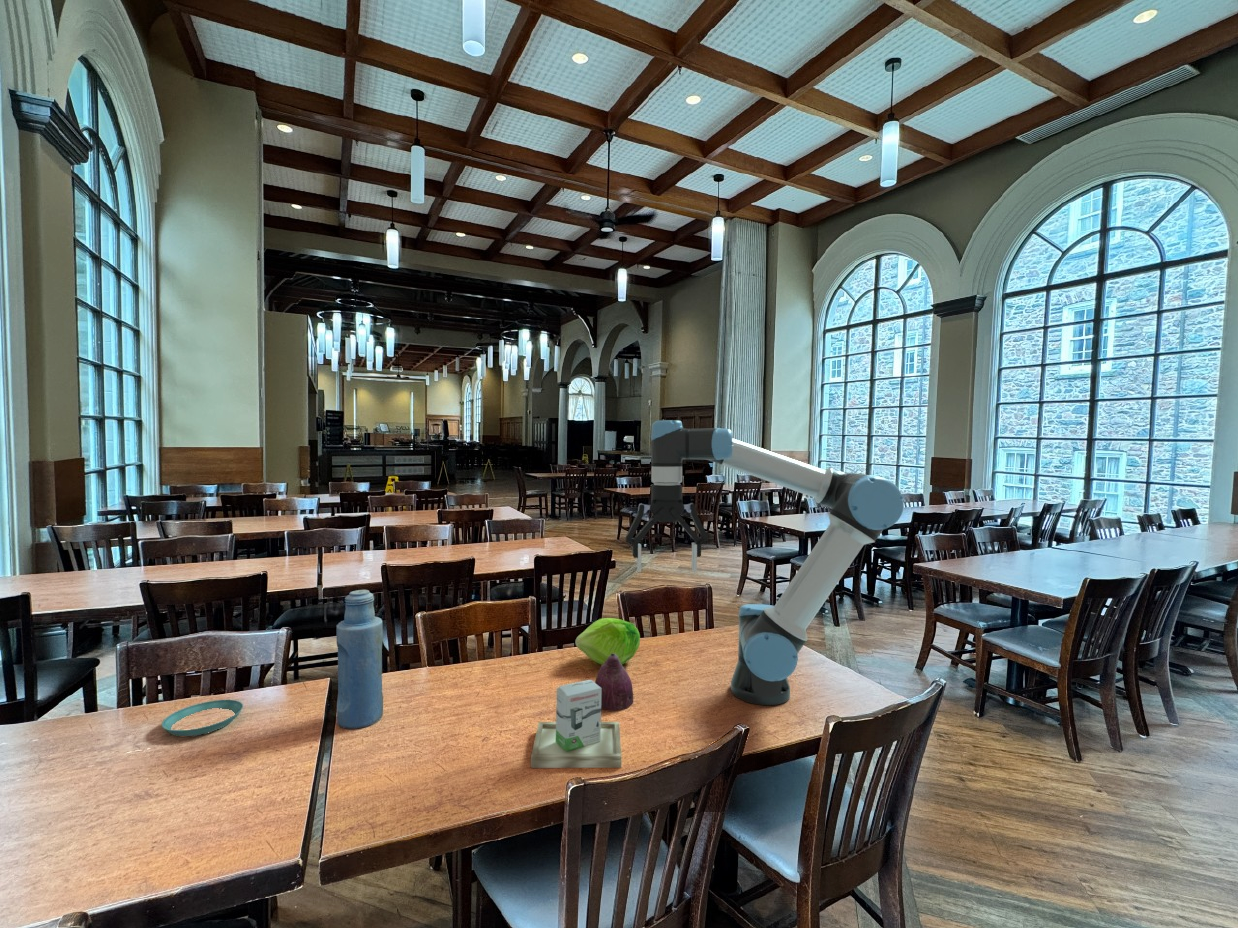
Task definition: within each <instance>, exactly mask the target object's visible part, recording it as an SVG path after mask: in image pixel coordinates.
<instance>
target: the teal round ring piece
mask: <svg viewBox="0 0 1238 928" xmlns="http://www.w3.org/2000/svg"><path fill="white" fill-rule="evenodd" d="M212 708H219V709H220V708H222V709H229V710H232V711H233V712H234V713H235V715H234V716H232V717H230V718H228V719H226V720H224V721H222V722H219V723H216V724H213V725H210V726H206V727H202V728H198V729H191V730H171V727H172V725H173V724H175V723H176V722H177V721H179V720H181V719H182V718H184V717H186V716H189V715H191V714H194V713H196V712H200V711H202V710H207V709H212ZM243 708H244V703H242V702H241V701H239V700H236V699H218V700H217V699H216V700H209V701H204V702H201V703H195V704H193V705H189V706H187V707H184V708H181V709H179V710H177V711H174V712H173V713H171V714H170V715H168V716H167V717H166V718H164V719H163V720H162V722H161V727H162V729H164V730H165V731H166V732H167V733H169V734H171V735H173V736H175V735H177V737H179V736H193V737H197V736H196V735H199V736H202V735H201V734H204V735H206V734H205V733H208V732H211V733H213V732H212V731H214V730H216V731H218V730H217V729H219V730H220V728H221V729H223V728H225V727H227V726H228V725H229V724H230V723H232V722H233V721H234V720H235V719H237V718H238V716H239V715H240V713H241V711H242V710H243ZM226 725H227V726H226ZM224 726H225V727H224ZM222 727H223V728H222ZM214 732H215V731H214ZM208 734H209V733H208Z"/></svg>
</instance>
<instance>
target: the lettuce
mask: <svg viewBox="0 0 1238 928" xmlns="http://www.w3.org/2000/svg"><path fill="white" fill-rule="evenodd" d="M640 642H641V634H640V632H639V629H638V628H637V627H636V625H635V624H634V623H632V622H629V621H626V620H623V619H620V618H614V617H613V618H612V617H604V618H603V617H602V618H599V619H598V620H595V621H593V623H591V624H590V625H589V626H588V627H587V628H586V629H584V630H583V632H581V633H580V634H579V635H578V636H577V637H576V639H575V646H576V647H577V649H579V650H580V651H581V652H583V653H584V654H585V656H586V657H588V659H591V661H593V662H595V663H596V664H598V665H601V666H602V665H603V663H604V662H605V661H606V660H607V658H608V657H609V656H610V655H611V654H612V653H614V654H615V655H616V656H617V657H618V659H619V661H620V663H621V664H622V665H624V664H626V663H627V662H628V661H630V660H631V659H632V658H633V657H634V656H635V654H636V653H637V651H638V650H639V647H640V644H641V643H640Z"/></svg>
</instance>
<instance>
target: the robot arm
mask: <svg viewBox="0 0 1238 928" xmlns="http://www.w3.org/2000/svg"><path fill="white" fill-rule="evenodd" d="M650 436H651V437H650V444H651V445H650V447H651V449H650V453H651V458H650V459H651V461H650V462H651V476H650V477H651V478H650V480H651V483H653V484H652V485H651V486H650V487H651V488H650V489H651V495H650V496H651V499H650V504H644V503H639V504H638V507H637V513H636V515H635V517H634V519H633V521H632V523H631V525H630V527H629V529H628V532H627V533H626V536H625V538H624V539H625V542H626V543H630V544H631V545H632V556H633V558H634V559H636V570H637V573H642V544H641V543H640V542H641V541H642V540H643V538H644V537H645V536H646V535H647V534H648V533H649V531H650V530H651V529H652V528H653V526H654V525H656V523H658V522H659V523H667V522H668V523H674V522H678V523H679V524H680V526H681V527H682V528H683V529H684V530H685V532H686V533H687V534H688V535H689V536H690V538H691V539H692V540H693V541H694V542H691V570H692V572H697V571H698V558H700V557H701V556H702V544H703V543H705V542H709V540H710V537H709V536H708V534H707V532H706V530H705V528H704V526H703V523H702V522H701V520H700V518H699V516H698V514H697V508H696V504H695V503H693V502H690V503H688V504H684V503H683V485H682V484H681V483H682V482H683V460H705V461H709V462H711V463H715V464H719V465H721V466H725V467H727V468H729V469H732V470H735V471H738V472H741V473H743V474H747V475H749V476H752V477H755V478H757V479H758V478H759V480H763V481H767V482H769V483H772V484H775V485H777V486H780V487H783V488H786V489H789V490H792V491H794V492H797V493H800V494H803V495H806V496H808V497H811V498H813V499H814V501H815V503H817V504H820V505H822V506H825V507H828V508H829V509H831V510H830V511H829V513H828V520H829V525H828V526H827V528H826V529H825V531H824V532H823V534H822V535H821V536H820V538H819V540H818V541H817V542H816V544H815V545H814V547H813V548H812V550H811V551H810V553H808V556H807V558H806V559H805V560H804V562H803V563H802V565H801V566H800V568H799V569H798V570H797V572H796V573H795V575H794V577H793V578H792V579H791V581H790V583H788V585H787V587H786V588H785V589H784V591H783V593H782V594H781V596H780V597H779V598H778V600H777V602H776V603H775V605H770V604H769V605H768V604H762V603H761V604H760V603H754V604H752V603H751V604H750V603H749V604H747V603H746V604H743V605H741V606H740V607H739V612H738V615H737V616H738V649H737V650H738V651H737V652H738V653H737V654H738V655H737V656H738V657H737V664H736V666H735V669H734V672H733V675H732V678H731V680H730V691H731V693H732V695H733V696H735V697H736V698H737V699H740V700H741V701H744V702H747V703H750V704H754V705H758V706H759V705H760V706H776V705H781V704H784V703H786V702H788V701H789V699H790V698H791V686H790V683H789V680H788V677H790V676H791V675H792V674H793V673H794V672H795V670H796V668H797V665H798V661H799V652H800V651H801V650H802V648H803V647H804V645H805V643H806V642H807V640H808V634H807V629H808V627H809V626H810V624H811V623H812V621H813V620H814V618H815V616H816V615H817V614H818V613H819V611H820V609H821V608H822V606H823V605H824V604H825V603H826V601H827V599H828V598H829V597H830V595H831V593H832V592H833V591H834V589H835V587H836V586H837V585H838V583H839V582H840V580H841V579H842V578H843V576H844V574H845V573H846V572H847V570H848V568H849V567H850V566H851V564H852V563H853V562H854V560H855V558H856V557H857V556H858V554H859V553H860V552H861V550H862V548H863V547H864V546H866V545H868V544H872V543H876V540H877V539H878V538H879V536H880V535H881V534H882V532H883V530H886V529H888V528H890V527H892V526H893V525H895V524H896V523H897V522H898V521H899V520H900V519H901V517H902V515H903V511H904V506H905V503H904V499H903V498H904V497H903V494H902V492H901V491H900V489H899V487H898V486H897V485H896V484H895V483H894V482H893V481H891V480H889V479H887V478H885V477H883V476H880V475H875V474H865V473H854V472H847V471H841V470H838V469H834V468H832V467H827V468H826V469H824V468H820V467H816V466H814V465H812V464H809V463H805V462H802V461H799V460H797V459H793V458H790V457H787V456H785V455H782V454H779V453H776V452H773V451H771V450H768V449H766V448H765V449H764V448H763V447H758V446H756V445H753V444H750V443H747V442H746V441H745V442H744V441H742V440H739V439H736V438H733V431H732V430H731V429H730V428H720V427H713V428H710V427H709V428H706V427H705V428H684V427H683V422H682V421H681V420H677V419H676V420H673V419H672V420H668V419H667V420H666V419H665V420H655V421H654V422H653V423H652V424H651V435H650ZM684 510H685V511H686V512H687V513H688V514H689V515H690V517H691V518H692V519H691V520H692V521H693V523H694V525H695V528H696V529H697V532H698V534H699V535H700V536H698V535H697V533H695V531H694V530H693V529H692V528H691V527H690V525H689V524H688V523H687V522H686V521H685V520H684V518H683V517H682V516H681V515H682V514H683V512H684ZM648 511H650V512H651V514H652V516H651V517H650V518H649V520H648V521H647V522H645V523H646V524H644V525H643V527H641V529H640V530H639V532H637V529H638V527H639V525H640V523H641V521H642V519H643V517H644V514H647V512H648ZM636 532H637V534H636V535H635V533H636ZM634 536H635V537H634Z"/></svg>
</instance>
